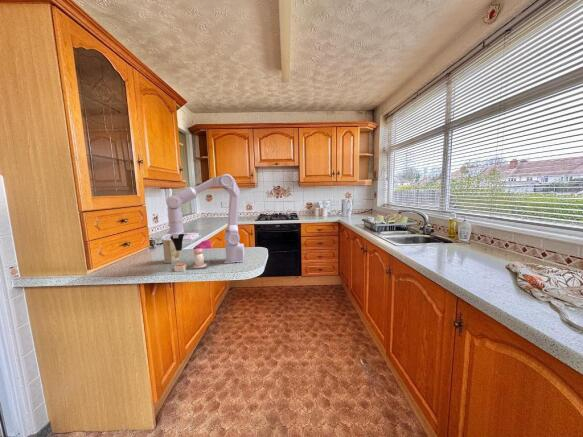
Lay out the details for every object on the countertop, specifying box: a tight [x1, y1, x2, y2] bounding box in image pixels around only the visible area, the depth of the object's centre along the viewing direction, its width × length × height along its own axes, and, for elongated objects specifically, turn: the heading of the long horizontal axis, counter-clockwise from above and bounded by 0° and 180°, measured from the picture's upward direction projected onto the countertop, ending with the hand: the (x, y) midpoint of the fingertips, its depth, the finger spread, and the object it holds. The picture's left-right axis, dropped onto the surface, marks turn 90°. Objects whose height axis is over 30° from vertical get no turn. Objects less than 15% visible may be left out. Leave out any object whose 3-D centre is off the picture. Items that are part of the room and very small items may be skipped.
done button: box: [175, 262, 185, 266], centre depth 109 cm, size 3×3×2 cm
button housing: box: [173, 262, 188, 272], centre depth 109 cm, size 4×4×2 cm
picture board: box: [186, 260, 213, 270], centre depth 114 cm, size 9×10×1 cm
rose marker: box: [193, 247, 205, 267], centre depth 112 cm, size 4×4×8 cm
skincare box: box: [162, 237, 180, 264], centre depth 122 cm, size 6×4×12 cm
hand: (179, 250), depth 108 cm, fingers closed
